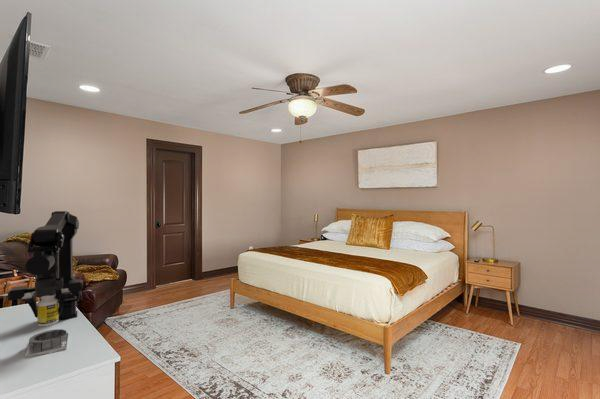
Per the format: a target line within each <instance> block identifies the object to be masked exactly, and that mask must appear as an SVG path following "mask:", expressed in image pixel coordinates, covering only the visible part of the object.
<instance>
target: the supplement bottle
mask: <svg viewBox="0 0 600 399" xmlns="http://www.w3.org/2000/svg"><path fill="white" fill-rule="evenodd" d="M55 296H56V293H55V294H54V295H52V296H42V297H39V300H38V302H37V318H36V319H37V320H36V321H37V325H38V326H39V327H47V326H52V325H54V324H56V323H58V322H59V314H58V308H59V303H58V299H57V298H55Z"/></svg>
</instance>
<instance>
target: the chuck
mask: <svg viewBox="0 0 600 399" xmlns="http://www.w3.org/2000/svg"><path fill="white" fill-rule="evenodd" d="M68 340H69V332H67V330H65V329H59V328H58V329H51V330H50V329H49V330H45V331H41V332H38V333H35V334H34V335H32V336H30V337H29V338H28V348H27V350H26V352H25V356H24V357H25V359H28V358H33V357H36V356H42V355H46V353H47V354H51V353H54V351H56V352H59V351H58V350H60V351H64V350H63V349H65V350H67V347H68ZM50 352H51V353H50Z"/></svg>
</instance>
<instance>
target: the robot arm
mask: <svg viewBox="0 0 600 399" xmlns="http://www.w3.org/2000/svg"><path fill="white" fill-rule="evenodd" d="M79 227H80V221H79V219H78V216H76V215H73V214H71V213H70V211H67V210H54V211H52V212H51V216H50V217H49V219H48V220H47V222H46V223H45V225H43V226H39V227H37V228H36V229H34V231H33V232H32V233H30V234H31V235H30V239H29V243H28V249H27V254H31V253H33V256H32V257H30V258H29V259H28V260H27V261H26V263H25V266H24V268H25V270H26V272H28V274H31V275H33V276H35V278H36V280H35V282H34V287H30V288H29V287H28V285H21V286H13V287H11V288H10V289H9V291H8V292H7V301H10V302H11V301H17V300H20V301H21V302H25V303H27V304H28V305H29V307H30V308H31V312H32V313H33V315H34V317H35V318H36V319H37V303H38V302H37V298H40V297H42V296H52V295H54V294H55V293H56V296H55V298H57V299H58V314H59V320H65V319H71V318H77V317H78V310H77V302H79V301H81V300H83V295H82V294H83V293H82V291H83V288H84V287H83V285H84V284H83V282H84V280H82V279H81V278H78V279H76V277H75V276H74V275H73V274H74V272H73V270H74V268H73V267H74V266H73V239H74V238H75V236H76V234H78V230H79ZM59 320H58V321H59Z"/></svg>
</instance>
